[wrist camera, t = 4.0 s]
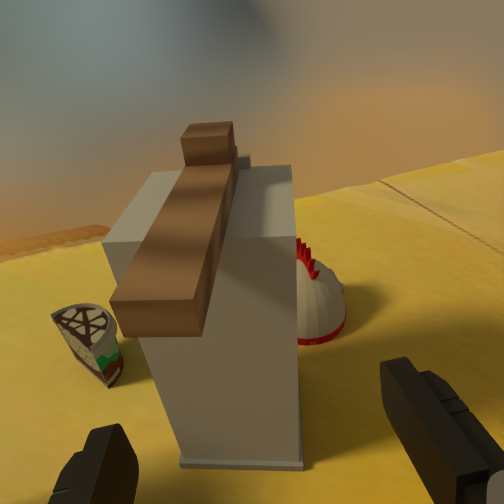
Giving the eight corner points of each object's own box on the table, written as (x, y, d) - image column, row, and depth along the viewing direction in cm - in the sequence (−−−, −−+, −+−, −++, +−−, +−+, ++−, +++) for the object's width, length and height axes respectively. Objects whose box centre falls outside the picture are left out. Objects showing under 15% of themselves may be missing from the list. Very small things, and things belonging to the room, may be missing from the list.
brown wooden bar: (201, 337, 18) (183, 256, 15) (123, 337, 18) (91, 259, 15) (239, 171, 35) (234, 119, 32) (199, 173, 35) (190, 122, 33)
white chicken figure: (320, 282, 71) (323, 215, 63) (360, 329, 60) (370, 257, 52) (254, 302, 68) (248, 235, 59) (285, 356, 57) (281, 284, 49)
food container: (147, 365, 58) (130, 321, 52) (114, 393, 54) (92, 349, 48) (104, 333, 64) (85, 290, 59) (72, 355, 61) (48, 312, 55)
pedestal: (303, 471, 43) (303, 224, 24) (180, 467, 44) (86, 232, 25) (298, 372, 54) (295, 150, 35) (200, 372, 56) (146, 159, 36)
